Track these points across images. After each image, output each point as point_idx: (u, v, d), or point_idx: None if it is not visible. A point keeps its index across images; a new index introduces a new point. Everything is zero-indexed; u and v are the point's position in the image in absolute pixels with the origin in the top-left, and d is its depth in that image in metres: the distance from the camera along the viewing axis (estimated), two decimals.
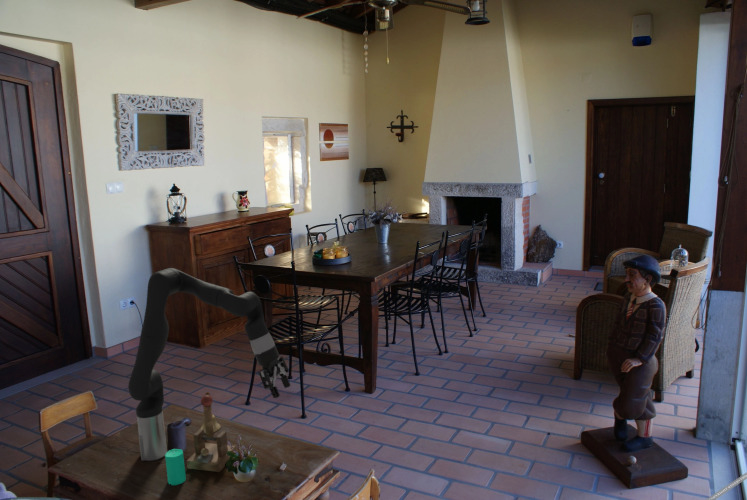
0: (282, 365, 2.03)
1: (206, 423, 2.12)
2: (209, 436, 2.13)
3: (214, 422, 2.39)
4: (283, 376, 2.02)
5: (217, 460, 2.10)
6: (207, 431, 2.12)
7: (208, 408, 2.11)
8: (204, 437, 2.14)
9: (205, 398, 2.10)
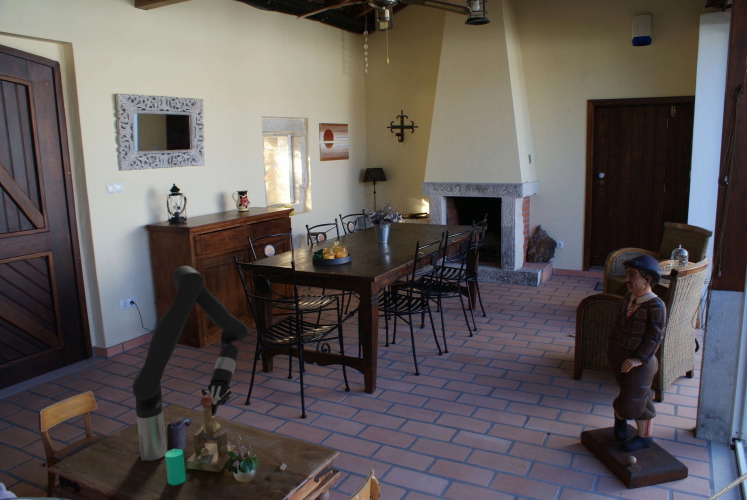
0: None
1: (206, 423, 2.12)
2: (209, 436, 2.12)
3: (214, 422, 2.39)
4: None
5: (217, 460, 2.10)
6: (207, 431, 2.12)
7: (207, 408, 2.10)
8: (204, 437, 2.14)
9: (205, 399, 2.09)
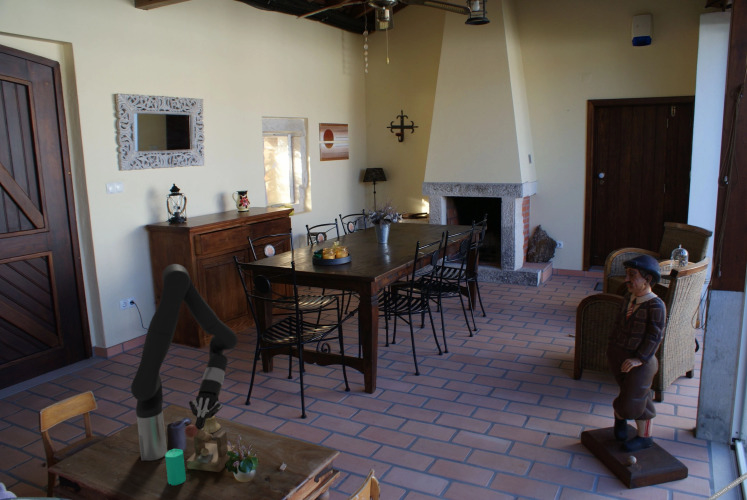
0: (195, 408, 2.11)
1: (200, 438, 2.08)
2: (208, 441, 2.12)
3: (214, 422, 2.39)
4: None
5: (217, 460, 2.10)
6: (205, 440, 2.11)
7: (196, 435, 2.03)
8: None
9: (189, 434, 1.99)
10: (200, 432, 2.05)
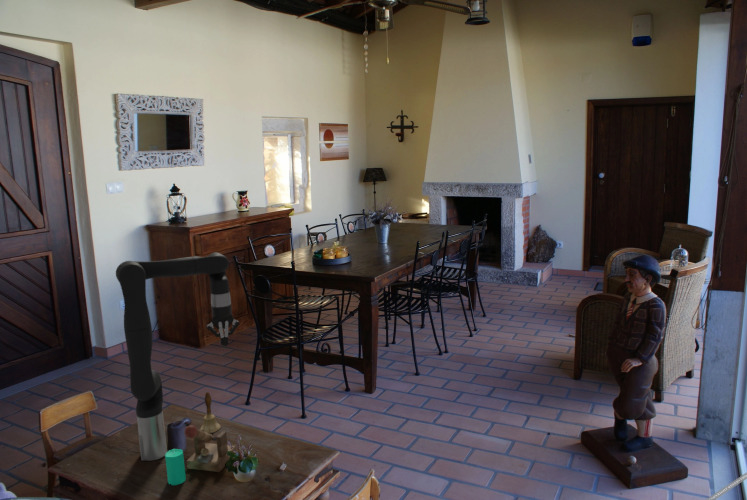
0: (213, 329, 2.28)
1: None
2: (208, 441, 2.12)
3: (214, 422, 2.39)
4: None
5: (217, 460, 2.10)
6: (205, 440, 2.11)
7: (195, 435, 2.03)
8: None
9: (189, 435, 1.99)
10: (200, 432, 2.05)
